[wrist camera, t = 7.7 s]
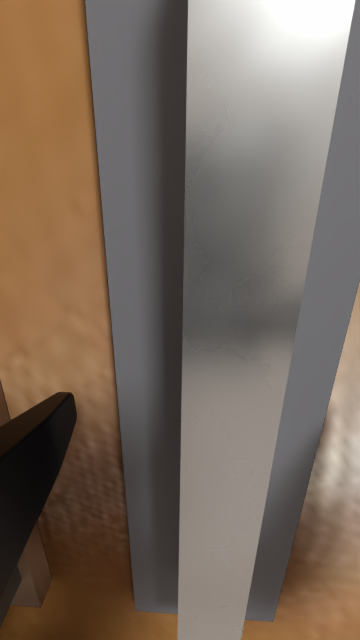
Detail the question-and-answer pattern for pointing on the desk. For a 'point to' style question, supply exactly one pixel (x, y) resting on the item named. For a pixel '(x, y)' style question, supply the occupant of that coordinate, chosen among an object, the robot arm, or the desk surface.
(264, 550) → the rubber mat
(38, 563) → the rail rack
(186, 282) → the steel rail
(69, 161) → the desk surface
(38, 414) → the robot arm
